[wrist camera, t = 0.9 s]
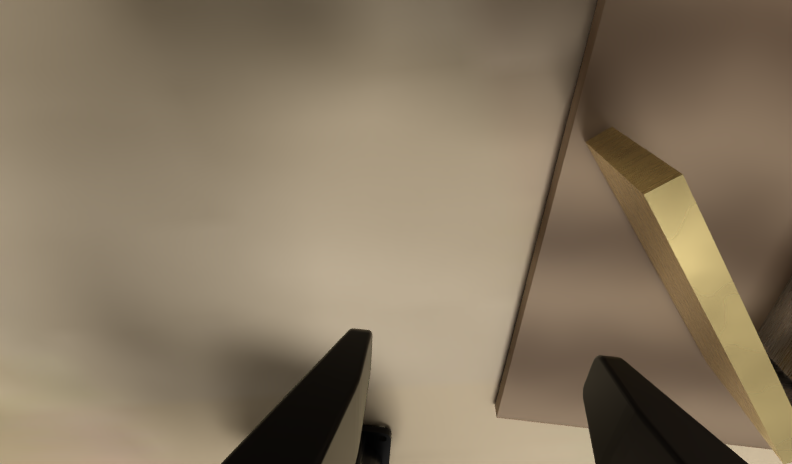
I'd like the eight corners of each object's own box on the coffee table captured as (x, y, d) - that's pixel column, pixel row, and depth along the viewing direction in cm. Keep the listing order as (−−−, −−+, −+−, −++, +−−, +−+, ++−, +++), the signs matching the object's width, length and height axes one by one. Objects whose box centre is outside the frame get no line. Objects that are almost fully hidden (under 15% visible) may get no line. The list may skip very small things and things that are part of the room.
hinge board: (823, 443, 23) (835, 456, 22) (494, 405, 24) (496, 417, 23) (1219, -23, 13) (1265, -25, 12) (612, -60, 14) (622, -63, 13)
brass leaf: (729, 354, 19) (814, 455, 15) (707, 363, 20) (783, 464, 15) (611, 126, 15) (682, 174, 11) (585, 142, 16) (643, 194, 11)
